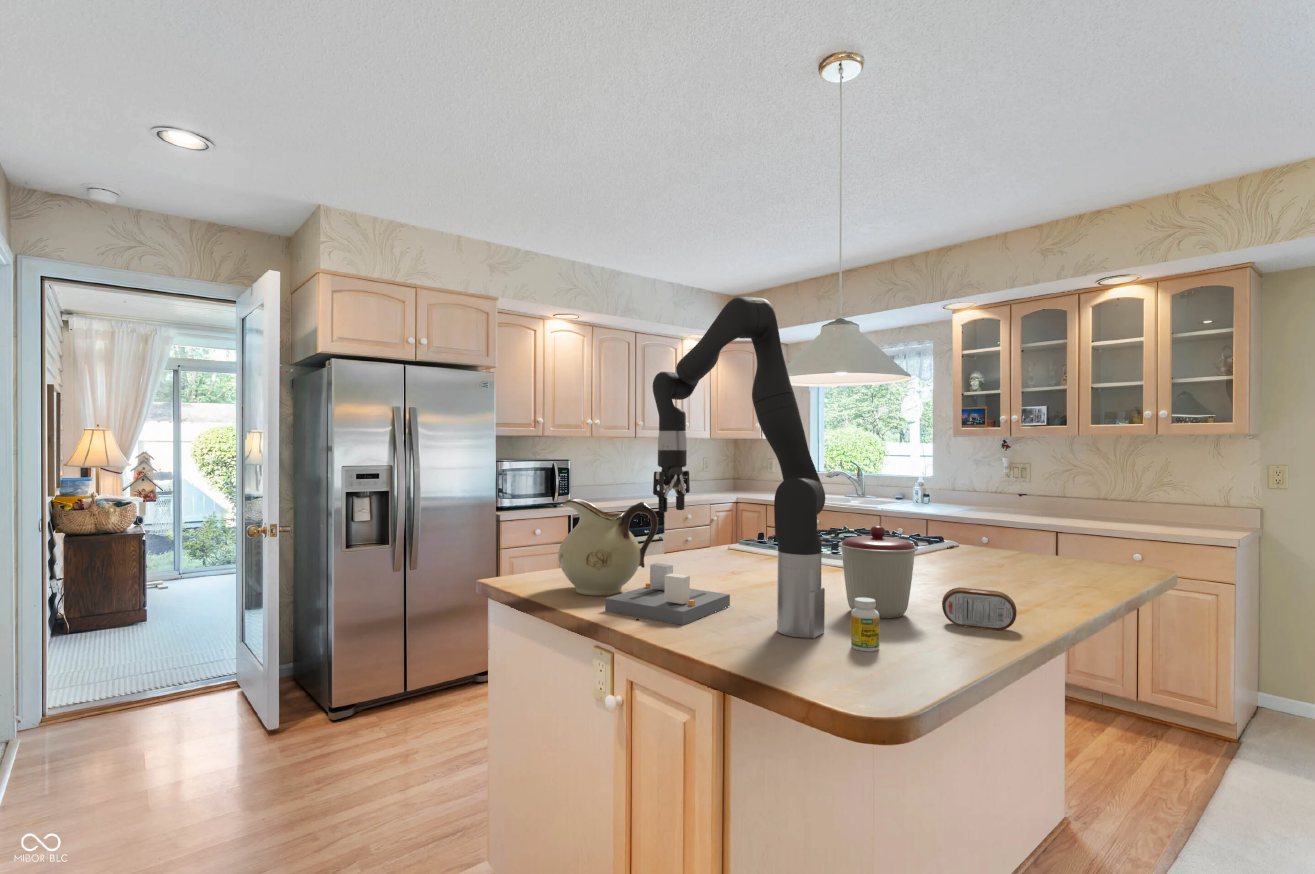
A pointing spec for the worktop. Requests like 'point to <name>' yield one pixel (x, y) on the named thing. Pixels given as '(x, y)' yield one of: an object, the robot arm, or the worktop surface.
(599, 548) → the pitcher
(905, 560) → the canister
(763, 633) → the worktop surface
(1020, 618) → the worktop surface
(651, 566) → the light grey block
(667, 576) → the block
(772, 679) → the worktop surface
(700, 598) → the grey slotted tray
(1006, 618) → the tin
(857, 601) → the supplement bottle
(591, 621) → the worktop surface
